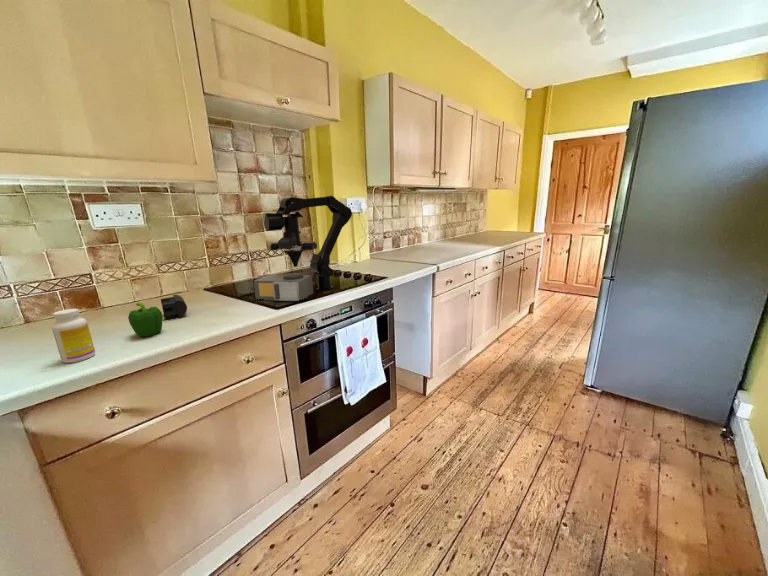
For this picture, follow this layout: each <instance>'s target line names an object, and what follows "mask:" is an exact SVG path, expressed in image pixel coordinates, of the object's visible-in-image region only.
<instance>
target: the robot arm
mask: <svg viewBox="0 0 768 576" xmlns="http://www.w3.org/2000/svg"><path fill="white" fill-rule="evenodd" d="M323 206H327V208H328V209H329V211H330V212H331V213H332V219H331V220H332V222H331V226H330V228H329V231H328V233H327V234H326V237H325V239H324V242H323V244H322V245H321V248H320V250H319V252H318V253H313V254H312V256H311V259H310V260H309V267H310V269H311V271H312V272H313V274H314V275H315V276H317V283H318V285H317V286H318V287H316V288H315V290H316V291H330V290H332V289H333V288H335V285H332V281H331V279H332V278H331V277H334V273H335V270H333V269H332V268H331V267H330V263H331V254H332V251H333V249H334V247H335V245H336V242H337V241H338V238H339V236H340V233H341V231H342V229H343V228H344V227H345V225H347V224H348V222H349V221H350V219H351V218H352V216H353V212H352V209H351V208H350V206H349V207H348V206H347V205H346V204H345V203H343V202H341V201H339V200H338V199H337V198H336V197H334V196H333V195H326V196H322V197H321V196H320V197H309V198H308V197H307V198H301V197H294V196H291V197H290V196H289V197H283V198H282V199H281V200H280V202H279V206H278V208H277V210H276V211H275V213H274V212H273V213H271V212H268V213H267V212H266V213H264V218H263V226H264V229H265V230H266V232H269V231H282V230H283V228H284V232H283V233H282V237H281V238H280V239H279V240H278V241H277V242H272V243H271V244H270V245H269V248H270V251H278V250H282V252H283V253H285V254H286V255H287V256H288V257H289V258H290V261H291V263H292V264H293V267H294V268H296V267H298V265H299V262H300V259H301V256H302V254H303V252H304V251H312V250H317V249H318V243H317V242H316V241H306V242H303V241H302V240H301V237H300V236H301V235H300V234H301V233H302V231H301V230H300V228H299V227H300V225H299V218H303V217H304V216H303V214H302V213H300V212H299V211H301V210H304V209H307V208H315V207H323Z"/></svg>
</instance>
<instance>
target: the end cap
mask: <svg viewBox="0 0 768 576" xmlns="http://www.w3.org/2000/svg"><path fill="white" fill-rule="evenodd" d="M160 304H161V307H162V312H163V313H162V314H163V317H164V321H165V320H168V321H171V319H173V320H176V318H178V319H181V318H183V316H184V315H185V314H186V313H187V310H188V305H187V303H186V302H185V299H184V298H183V296H181V295H179V294H173V295H172V296H170V297H163V298H160Z"/></svg>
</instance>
